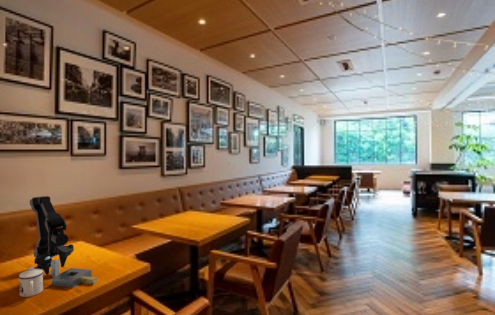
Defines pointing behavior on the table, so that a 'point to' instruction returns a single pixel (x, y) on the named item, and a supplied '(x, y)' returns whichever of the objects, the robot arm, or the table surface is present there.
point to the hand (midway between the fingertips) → (55, 270)
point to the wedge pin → (55, 268)
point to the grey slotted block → (74, 278)
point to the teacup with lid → (31, 282)
